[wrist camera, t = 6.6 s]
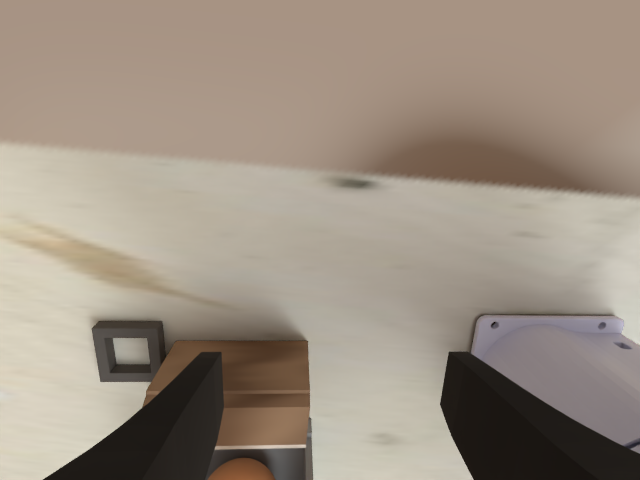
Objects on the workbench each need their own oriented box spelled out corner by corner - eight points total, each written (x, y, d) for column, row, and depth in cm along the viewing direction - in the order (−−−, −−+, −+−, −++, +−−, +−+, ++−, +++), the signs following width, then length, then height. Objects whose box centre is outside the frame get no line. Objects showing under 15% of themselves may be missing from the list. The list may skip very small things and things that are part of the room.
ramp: (307, 340, 22) (310, 398, 17) (305, 416, 24) (306, 487, 19) (175, 340, 21) (140, 400, 17) (182, 417, 23) (152, 491, 18)
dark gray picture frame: (162, 321, 21) (157, 328, 20) (167, 372, 22) (162, 381, 21) (99, 321, 21) (91, 328, 20) (107, 373, 22) (100, 381, 21)
